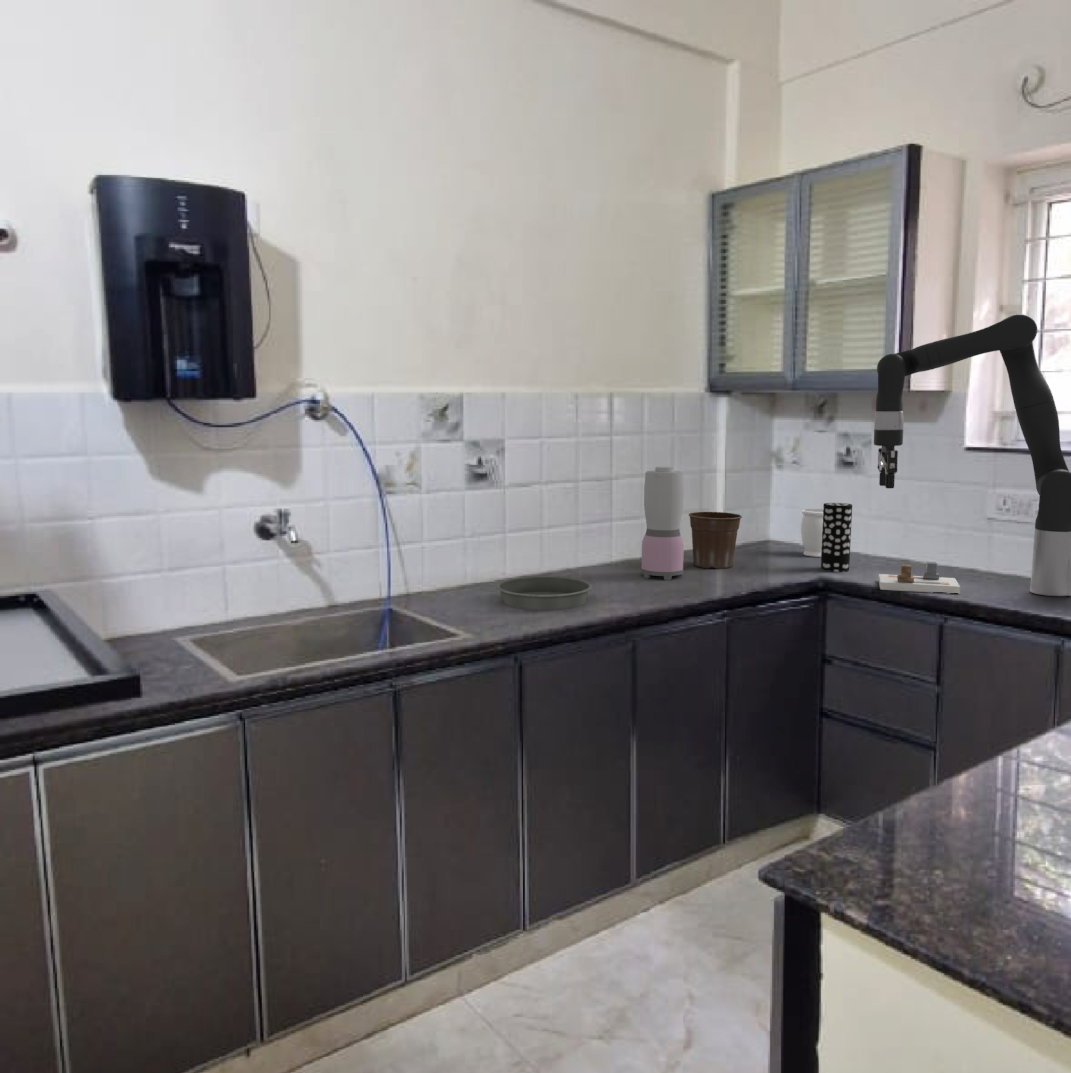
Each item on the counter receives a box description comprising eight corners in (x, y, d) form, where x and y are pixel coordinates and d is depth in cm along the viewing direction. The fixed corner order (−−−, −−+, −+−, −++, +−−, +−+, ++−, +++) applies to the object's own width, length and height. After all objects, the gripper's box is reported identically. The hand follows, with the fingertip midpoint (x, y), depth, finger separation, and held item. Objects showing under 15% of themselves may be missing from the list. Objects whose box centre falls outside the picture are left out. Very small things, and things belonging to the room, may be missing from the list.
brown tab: (912, 579, 262) (913, 564, 261) (913, 582, 258) (914, 566, 258) (897, 579, 263) (898, 564, 262) (898, 581, 259) (898, 566, 259)
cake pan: (476, 601, 245) (476, 584, 244) (544, 588, 262) (544, 572, 261) (544, 617, 228) (544, 598, 227) (611, 602, 245) (612, 585, 244)
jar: (812, 551, 324) (814, 508, 322) (839, 555, 316) (841, 510, 314) (793, 555, 317) (795, 510, 315) (820, 559, 310) (822, 513, 307)
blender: (675, 581, 271) (678, 469, 266) (635, 578, 276) (637, 467, 271) (691, 572, 285) (693, 465, 280) (652, 569, 290) (654, 464, 285)
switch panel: (954, 585, 266) (954, 577, 266) (959, 594, 254) (960, 586, 254) (878, 580, 272) (878, 573, 272) (880, 589, 260) (880, 581, 260)
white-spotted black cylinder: (850, 572, 286) (853, 506, 283) (821, 571, 287) (824, 505, 284) (847, 567, 294) (850, 503, 291) (819, 566, 295) (822, 502, 292)
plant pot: (750, 566, 296) (752, 514, 294) (719, 572, 285) (720, 519, 283) (708, 559, 308) (710, 510, 306) (676, 565, 297) (677, 514, 295)
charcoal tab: (937, 576, 266) (938, 562, 266) (939, 579, 263) (940, 564, 262) (922, 576, 267) (923, 561, 267) (923, 578, 264) (924, 563, 263)
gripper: (908, 428, 254) (906, 489, 256) (897, 427, 268) (895, 484, 270) (879, 428, 255) (877, 489, 257) (869, 427, 269) (867, 484, 271)
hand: (886, 486), depth 264 cm, fingers open, 8 cm apart
